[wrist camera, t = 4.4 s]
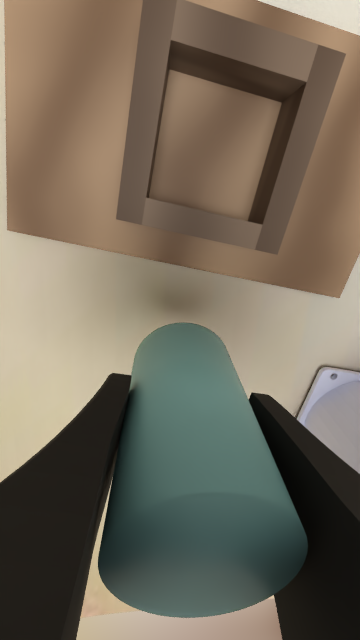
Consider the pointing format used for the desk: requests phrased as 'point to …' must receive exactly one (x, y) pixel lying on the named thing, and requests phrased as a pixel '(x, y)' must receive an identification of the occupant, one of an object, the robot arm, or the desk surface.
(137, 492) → the teal peg
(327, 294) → the peg stand
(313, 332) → the desk surface
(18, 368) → the desk surface
